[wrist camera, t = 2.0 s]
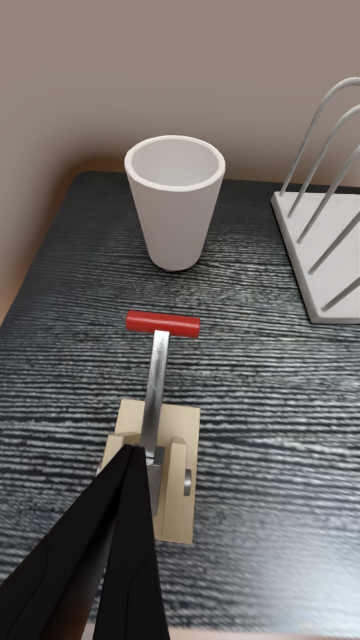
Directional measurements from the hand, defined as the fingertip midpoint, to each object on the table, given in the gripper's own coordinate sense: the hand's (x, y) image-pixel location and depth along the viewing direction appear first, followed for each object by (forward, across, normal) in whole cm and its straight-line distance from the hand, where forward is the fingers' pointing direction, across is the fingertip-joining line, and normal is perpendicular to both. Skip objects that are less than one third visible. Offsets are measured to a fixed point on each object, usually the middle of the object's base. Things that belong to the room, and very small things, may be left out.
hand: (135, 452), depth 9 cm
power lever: (+6, 0, +3) cm, 7 cm away
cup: (+27, +1, -7) cm, 28 cm away
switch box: (+8, 0, +11) cm, 14 cm away
